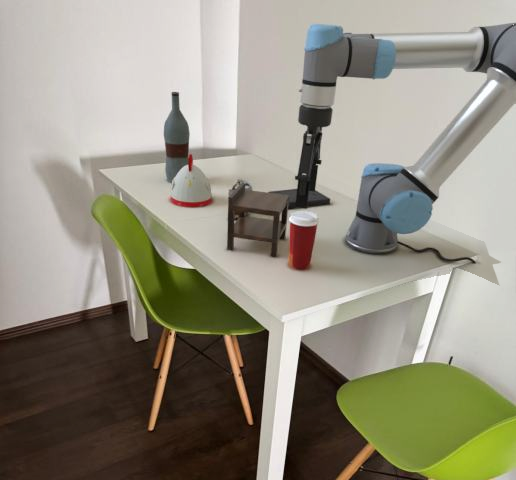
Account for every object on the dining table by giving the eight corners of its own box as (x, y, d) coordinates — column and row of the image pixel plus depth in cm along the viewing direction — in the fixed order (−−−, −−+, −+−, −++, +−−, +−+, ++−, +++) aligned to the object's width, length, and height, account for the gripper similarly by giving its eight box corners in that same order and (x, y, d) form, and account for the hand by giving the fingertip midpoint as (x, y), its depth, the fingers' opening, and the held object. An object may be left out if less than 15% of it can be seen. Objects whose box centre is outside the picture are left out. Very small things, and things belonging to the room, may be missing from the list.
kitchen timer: (168, 206, 168) (166, 159, 159) (173, 192, 179) (171, 148, 171) (210, 207, 169) (210, 161, 160) (212, 194, 180) (212, 150, 172)
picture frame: (285, 209, 171) (329, 204, 178) (286, 203, 170) (330, 197, 177) (267, 197, 181) (310, 192, 188) (268, 190, 180) (310, 186, 187)
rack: (285, 238, 151) (289, 188, 143) (275, 257, 140) (280, 204, 131) (240, 231, 153) (241, 182, 145) (227, 249, 142) (228, 197, 134)
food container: (246, 223, 159) (248, 192, 153) (227, 221, 160) (228, 189, 154) (254, 210, 169) (256, 180, 163) (236, 208, 170) (237, 178, 164)
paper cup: (319, 266, 136) (325, 216, 128) (300, 274, 132) (306, 223, 124) (297, 256, 141) (302, 207, 133) (278, 264, 136) (282, 214, 128)
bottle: (179, 175, 197) (176, 89, 180) (195, 180, 192) (194, 93, 175) (160, 179, 191) (155, 91, 173) (177, 185, 186) (173, 95, 169)
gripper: (308, 95, 124) (299, 182, 137) (289, 113, 104) (280, 213, 116) (338, 98, 123) (326, 186, 135) (326, 117, 103) (313, 217, 115)
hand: (305, 198), depth 126 cm, fingers open, 13 cm apart
